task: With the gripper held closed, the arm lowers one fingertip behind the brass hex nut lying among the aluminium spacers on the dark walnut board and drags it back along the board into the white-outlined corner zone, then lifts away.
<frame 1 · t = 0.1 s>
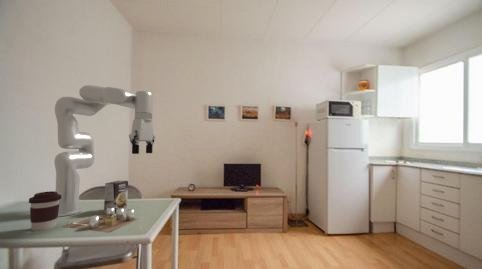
hand: (142, 153, 99), 31 cm above the table, tool pointing down, fingers open, 9 cm apart
spacer a: (110, 217, 98), point 1 cm above the table, touching board
coffee box: (115, 213, 108), on the table
spacer d: (94, 227, 85), point 1 cm above the table, touching board
board: (102, 225, 91), on the table
spacer c: (130, 219, 95), point 1 cm above the table, touching board
coffee cup: (43, 230, 86), on the table
spacer b: (120, 218, 96), point 1 cm above the table, touching board
nut: (110, 223, 90), point 1 cm above the table, touching board
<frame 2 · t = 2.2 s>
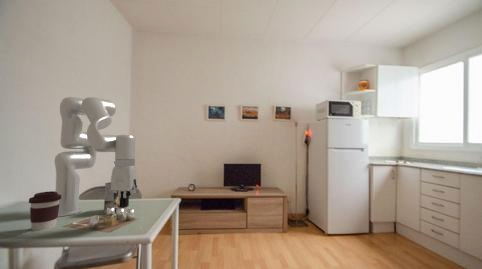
hand: (124, 206, 89), 9 cm above the table, tool pointing down, fingers closed
nothing on the table moved.
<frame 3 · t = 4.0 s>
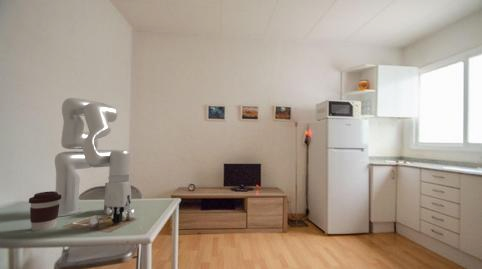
hand: (117, 222, 90), 2 cm above the table, tool pointing down, fingers closed
nut: (109, 223, 90), point 1 cm above the table, touching board, gripper
everything else where it was.
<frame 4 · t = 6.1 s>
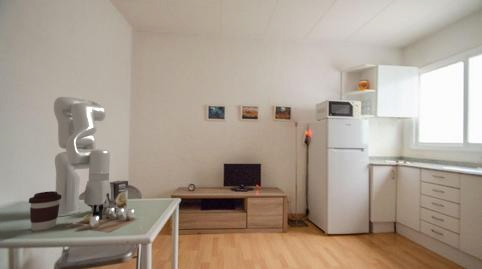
hand: (97, 219, 92), 2 cm above the table, tool pointing down, fingers closed
nut: (90, 221, 93), point 1 cm above the table, touching board, gripper
everything else where it was.
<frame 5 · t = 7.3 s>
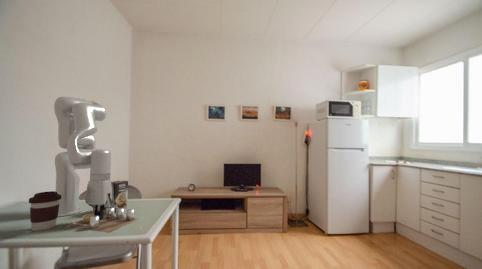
hand: (98, 219, 92), 2 cm above the table, tool pointing down, fingers closed
nut: (88, 221, 93), point 1 cm above the table, touching board
everything else where it was.
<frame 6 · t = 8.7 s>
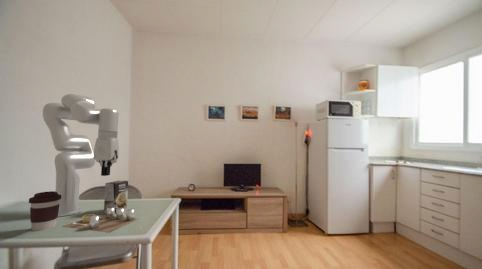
hand: (105, 175, 96), 21 cm above the table, tool pointing down, fingers closed
nothing on the table moved.
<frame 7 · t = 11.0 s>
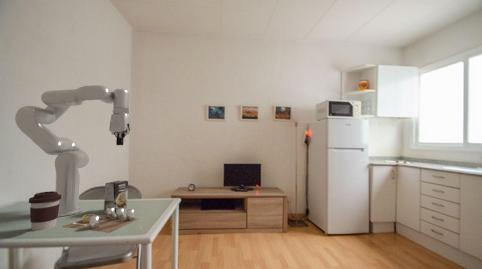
hand: (119, 145, 115), 35 cm above the table, tool pointing down, fingers closed
nothing on the table moved.
at the end: nut inside the target area on the board (0.4 cm from its centre), point 1.2 cm above the board's base; nut moved 11.6 cm from its start; nut point 1.2 cm above the table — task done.
